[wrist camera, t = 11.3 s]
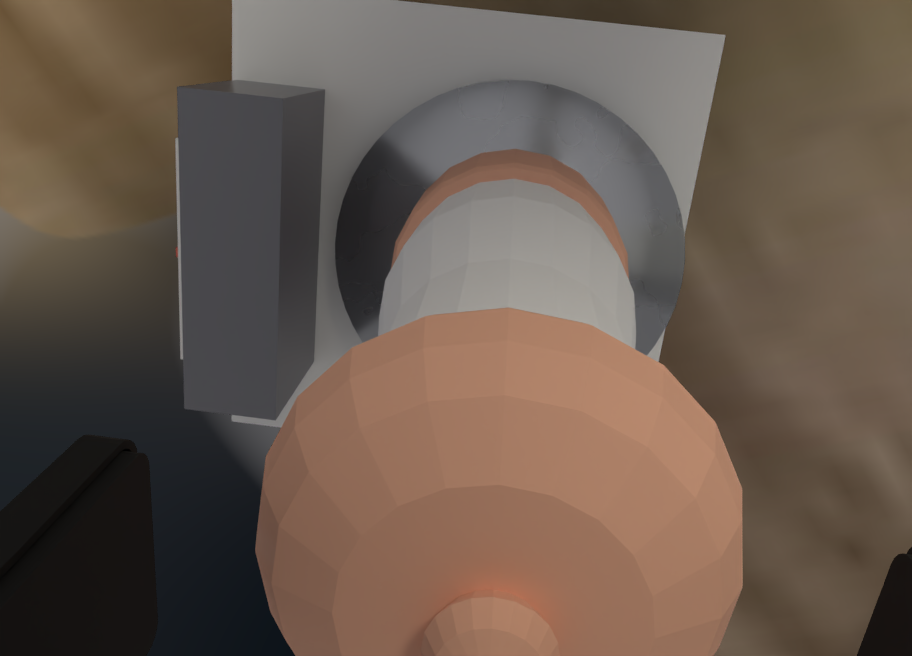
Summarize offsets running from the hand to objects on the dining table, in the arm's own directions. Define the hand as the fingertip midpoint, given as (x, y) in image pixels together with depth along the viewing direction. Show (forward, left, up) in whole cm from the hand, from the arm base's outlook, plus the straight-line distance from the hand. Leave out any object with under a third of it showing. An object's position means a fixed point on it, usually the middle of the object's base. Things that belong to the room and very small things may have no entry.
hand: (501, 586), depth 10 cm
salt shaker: (0, 0, -18) cm, 18 cm away
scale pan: (0, +1, -19) cm, 19 cm away
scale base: (+2, +1, -22) cm, 22 cm away
